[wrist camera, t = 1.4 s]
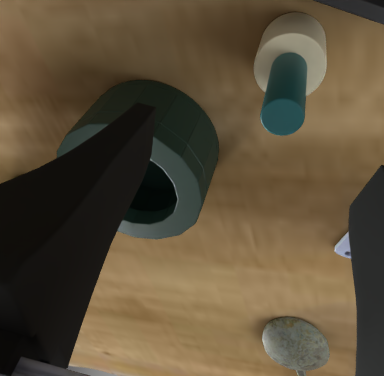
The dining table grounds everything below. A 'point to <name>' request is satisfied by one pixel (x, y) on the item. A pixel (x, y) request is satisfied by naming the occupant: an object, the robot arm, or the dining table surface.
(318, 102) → the dining table surface
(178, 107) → the jar
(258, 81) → the teal peg on base
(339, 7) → the tray
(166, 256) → the dining table surface
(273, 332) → the soupspoon
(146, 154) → the robot arm
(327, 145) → the dining table surface
